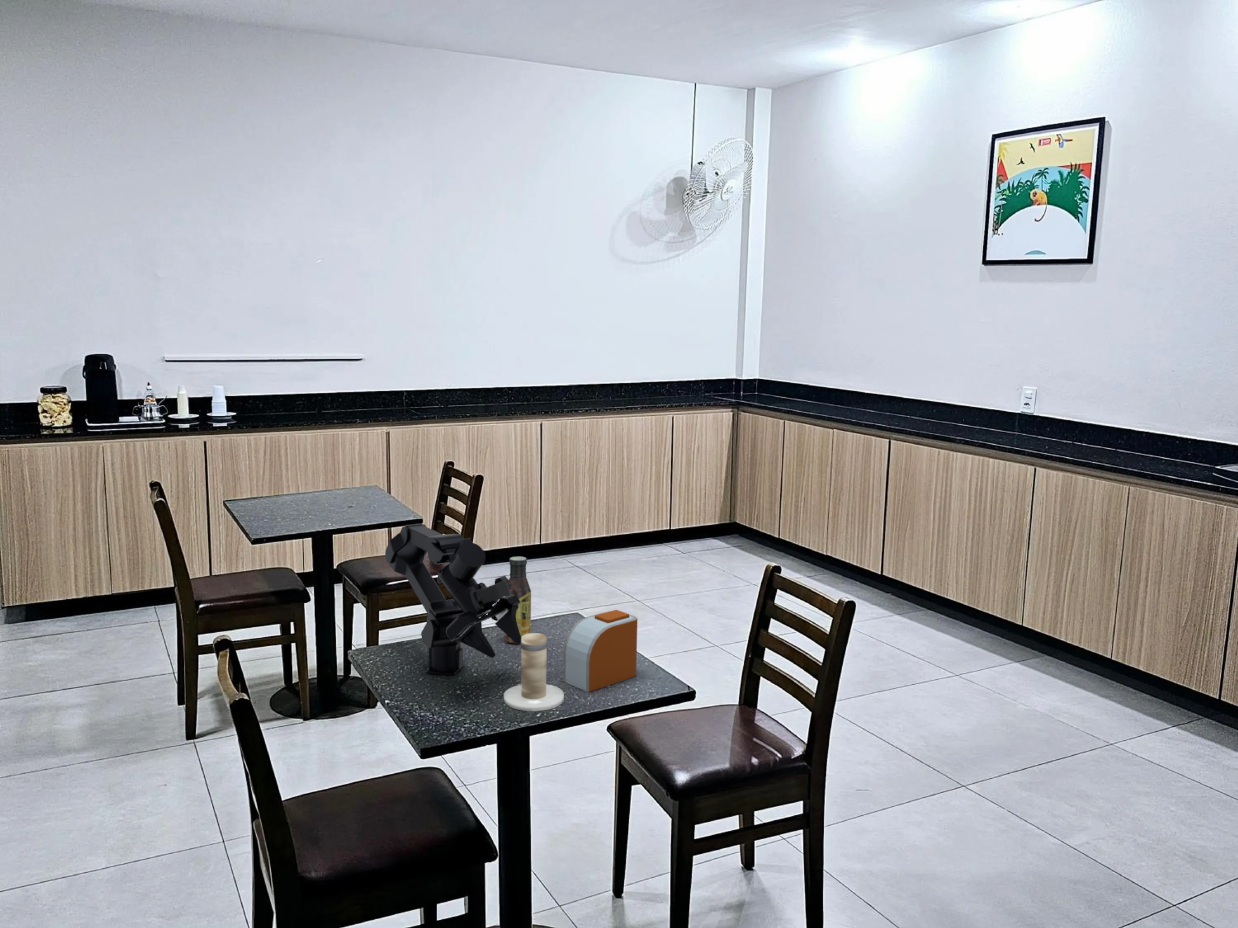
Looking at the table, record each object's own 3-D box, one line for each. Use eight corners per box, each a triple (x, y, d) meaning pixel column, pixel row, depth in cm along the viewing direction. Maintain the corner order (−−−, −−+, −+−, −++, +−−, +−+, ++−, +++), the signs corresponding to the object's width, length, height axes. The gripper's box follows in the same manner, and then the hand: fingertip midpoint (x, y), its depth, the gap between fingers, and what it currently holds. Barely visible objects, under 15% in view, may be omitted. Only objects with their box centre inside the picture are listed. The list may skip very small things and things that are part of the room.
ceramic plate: (496, 708, 197) (496, 703, 197) (513, 685, 208) (513, 680, 208) (555, 713, 195) (555, 708, 195) (569, 690, 206) (569, 685, 206)
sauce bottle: (526, 645, 233) (526, 562, 230) (500, 643, 234) (500, 561, 231) (534, 636, 239) (534, 556, 236) (509, 634, 240) (509, 554, 237)
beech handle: (515, 695, 201) (515, 638, 199) (530, 687, 205) (530, 631, 203) (536, 701, 198) (537, 643, 196) (551, 692, 202) (552, 635, 201)
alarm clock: (613, 664, 222) (614, 605, 220) (640, 675, 216) (641, 614, 214) (562, 680, 212) (562, 619, 210) (588, 692, 206) (589, 629, 204)
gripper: (457, 576, 196) (503, 641, 192) (513, 556, 212) (556, 615, 208) (426, 608, 201) (470, 672, 197) (483, 586, 217) (525, 644, 213)
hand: (507, 649), depth 204 cm, fingers open, 9 cm apart
